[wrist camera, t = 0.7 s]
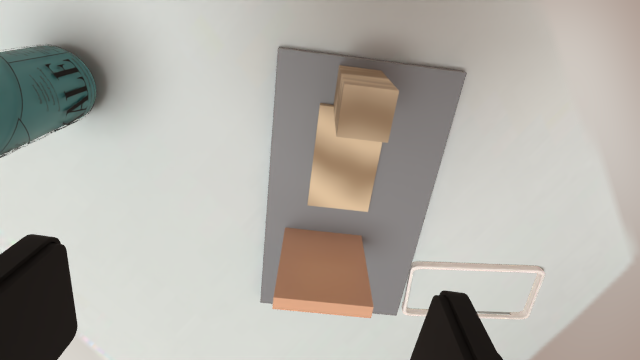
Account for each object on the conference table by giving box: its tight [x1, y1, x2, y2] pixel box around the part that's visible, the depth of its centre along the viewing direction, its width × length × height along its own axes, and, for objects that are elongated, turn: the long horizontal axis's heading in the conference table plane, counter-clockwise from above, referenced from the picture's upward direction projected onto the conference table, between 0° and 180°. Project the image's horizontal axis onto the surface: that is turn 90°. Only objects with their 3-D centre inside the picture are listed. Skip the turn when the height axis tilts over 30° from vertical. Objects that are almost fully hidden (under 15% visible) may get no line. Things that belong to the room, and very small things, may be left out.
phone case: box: [402, 261, 545, 319], centre depth 42 cm, size 7×1×15 cm
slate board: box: [260, 47, 466, 315], centre depth 37 cm, size 28×16×1 cm, turn 173°
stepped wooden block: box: [308, 65, 399, 212], centre depth 30 cm, size 13×6×8 cm, turn 173°
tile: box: [273, 228, 374, 318], centre depth 34 cm, size 1×8×10 cm, turn 83°
